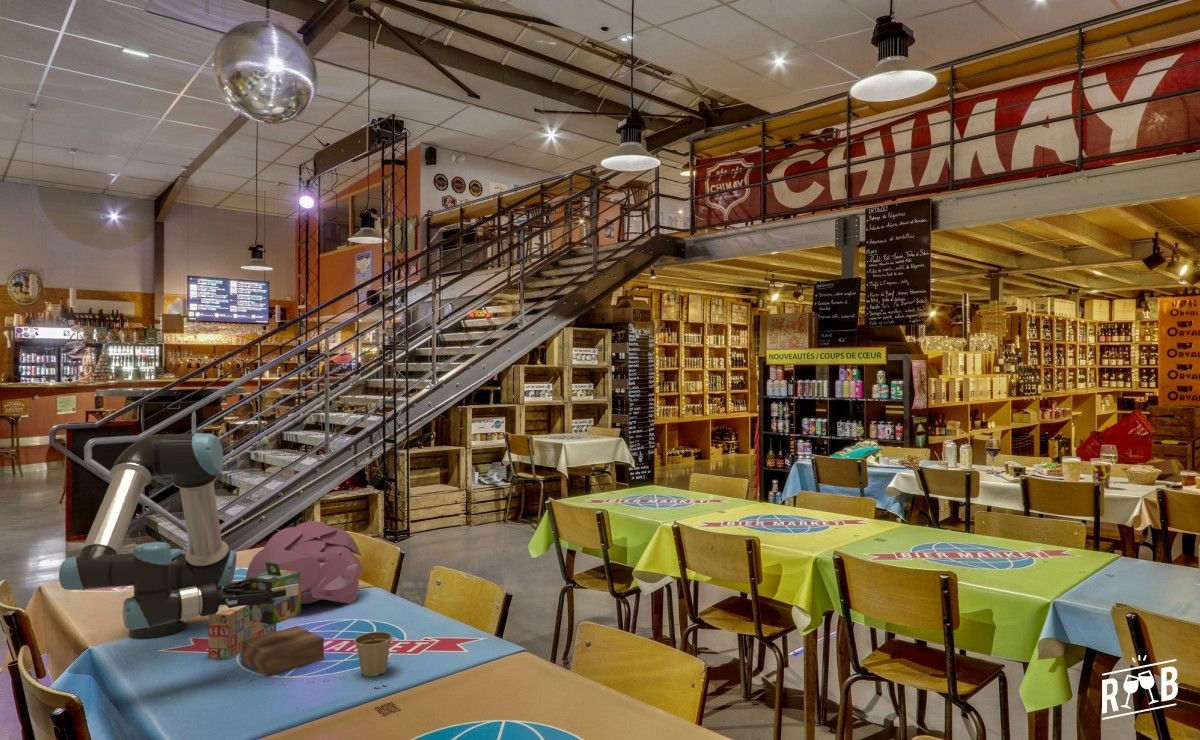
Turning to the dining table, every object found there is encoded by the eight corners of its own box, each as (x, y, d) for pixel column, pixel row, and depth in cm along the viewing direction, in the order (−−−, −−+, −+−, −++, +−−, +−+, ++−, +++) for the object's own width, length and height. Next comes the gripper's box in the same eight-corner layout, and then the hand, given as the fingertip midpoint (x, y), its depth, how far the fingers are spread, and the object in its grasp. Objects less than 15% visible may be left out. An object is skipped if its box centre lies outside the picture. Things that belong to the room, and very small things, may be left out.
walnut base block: (241, 663, 188) (241, 640, 188) (297, 647, 199) (297, 625, 200) (266, 678, 178) (266, 654, 178) (323, 660, 190) (323, 638, 190)
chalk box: (301, 615, 189) (301, 559, 190) (272, 625, 181) (272, 567, 182) (277, 610, 194) (277, 556, 194) (247, 620, 185) (247, 563, 186)
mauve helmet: (341, 602, 257) (339, 521, 263) (382, 600, 243) (378, 514, 249) (242, 618, 229) (243, 527, 235) (281, 616, 215) (280, 520, 221)
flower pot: (357, 682, 174) (357, 647, 174) (351, 669, 183) (351, 635, 183) (396, 675, 179) (396, 640, 179) (388, 662, 187) (388, 629, 187)
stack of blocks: (257, 631, 212) (257, 590, 212) (276, 632, 211) (276, 590, 211) (207, 659, 191) (207, 612, 191) (229, 660, 190) (229, 613, 190)
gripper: (188, 605, 185) (276, 589, 199) (210, 628, 167) (305, 608, 181) (188, 576, 185) (276, 562, 199) (210, 596, 167) (305, 579, 181)
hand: (290, 584), depth 190 cm, fingers closed on chalk box, 11 cm apart
